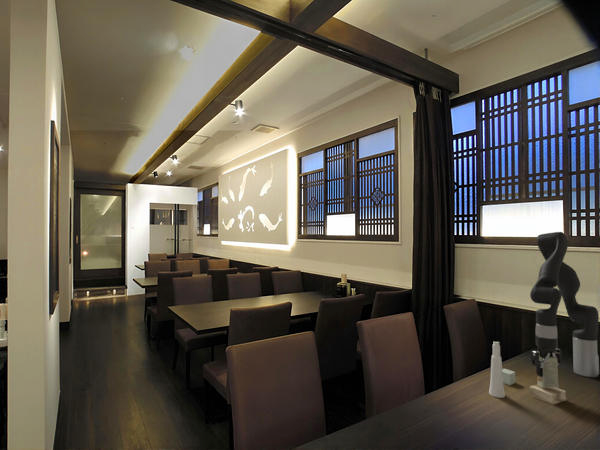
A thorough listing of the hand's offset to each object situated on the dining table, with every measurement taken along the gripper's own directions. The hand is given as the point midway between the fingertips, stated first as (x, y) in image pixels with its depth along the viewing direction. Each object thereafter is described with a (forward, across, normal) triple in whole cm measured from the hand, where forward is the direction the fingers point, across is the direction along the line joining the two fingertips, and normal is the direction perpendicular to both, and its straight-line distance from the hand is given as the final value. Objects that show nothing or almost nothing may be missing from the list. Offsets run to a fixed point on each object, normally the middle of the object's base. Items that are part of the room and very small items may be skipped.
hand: (547, 375), depth 146 cm
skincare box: (+5, 0, 0) cm, 5 cm away
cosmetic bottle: (+9, +18, -8) cm, 22 cm away
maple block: (+10, 0, 0) cm, 10 cm away
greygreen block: (+9, +3, -17) cm, 20 cm away
